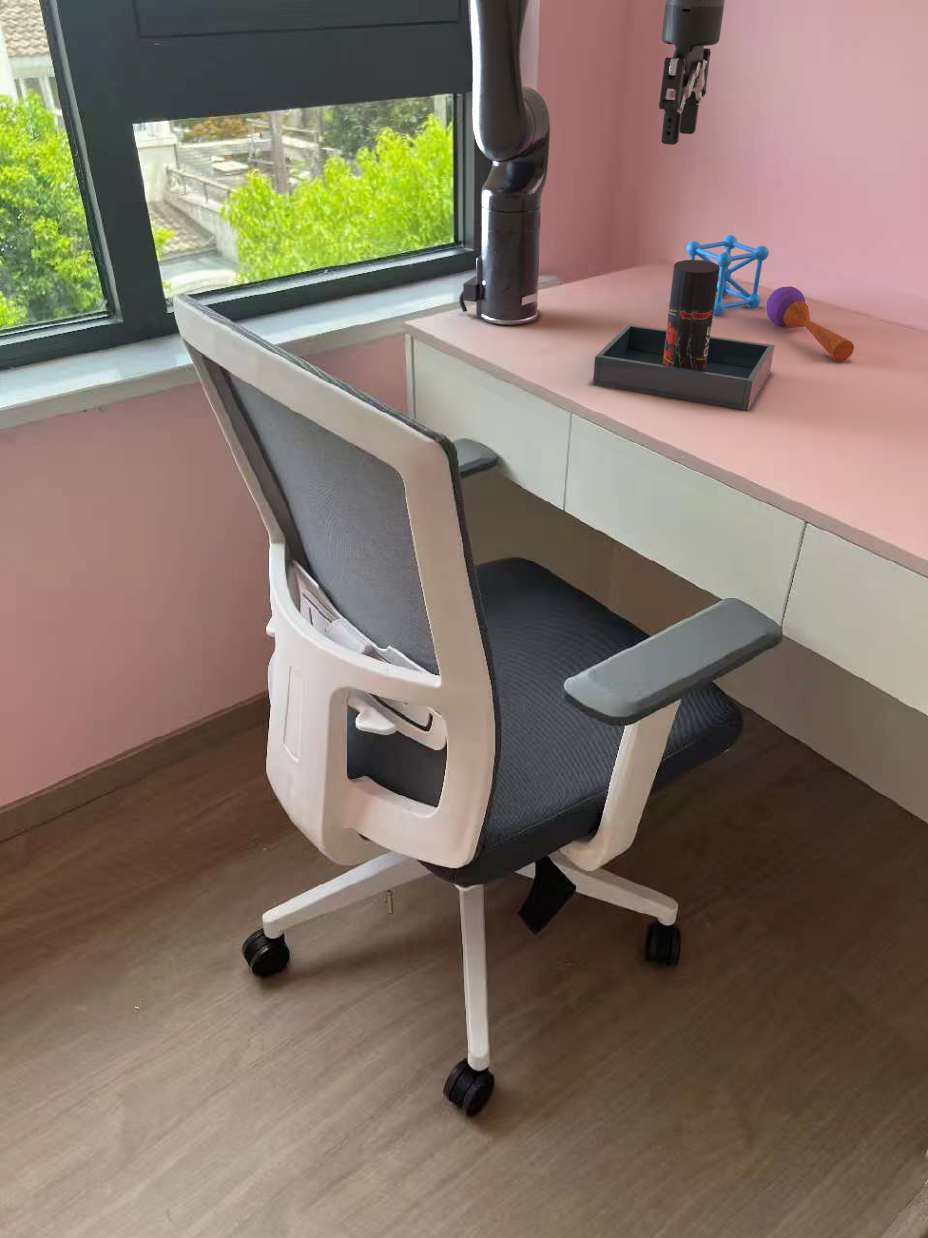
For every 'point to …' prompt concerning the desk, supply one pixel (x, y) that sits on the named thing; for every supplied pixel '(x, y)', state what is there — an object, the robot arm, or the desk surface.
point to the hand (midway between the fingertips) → (678, 138)
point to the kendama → (805, 321)
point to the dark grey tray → (724, 382)
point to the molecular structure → (731, 270)
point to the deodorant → (690, 314)
